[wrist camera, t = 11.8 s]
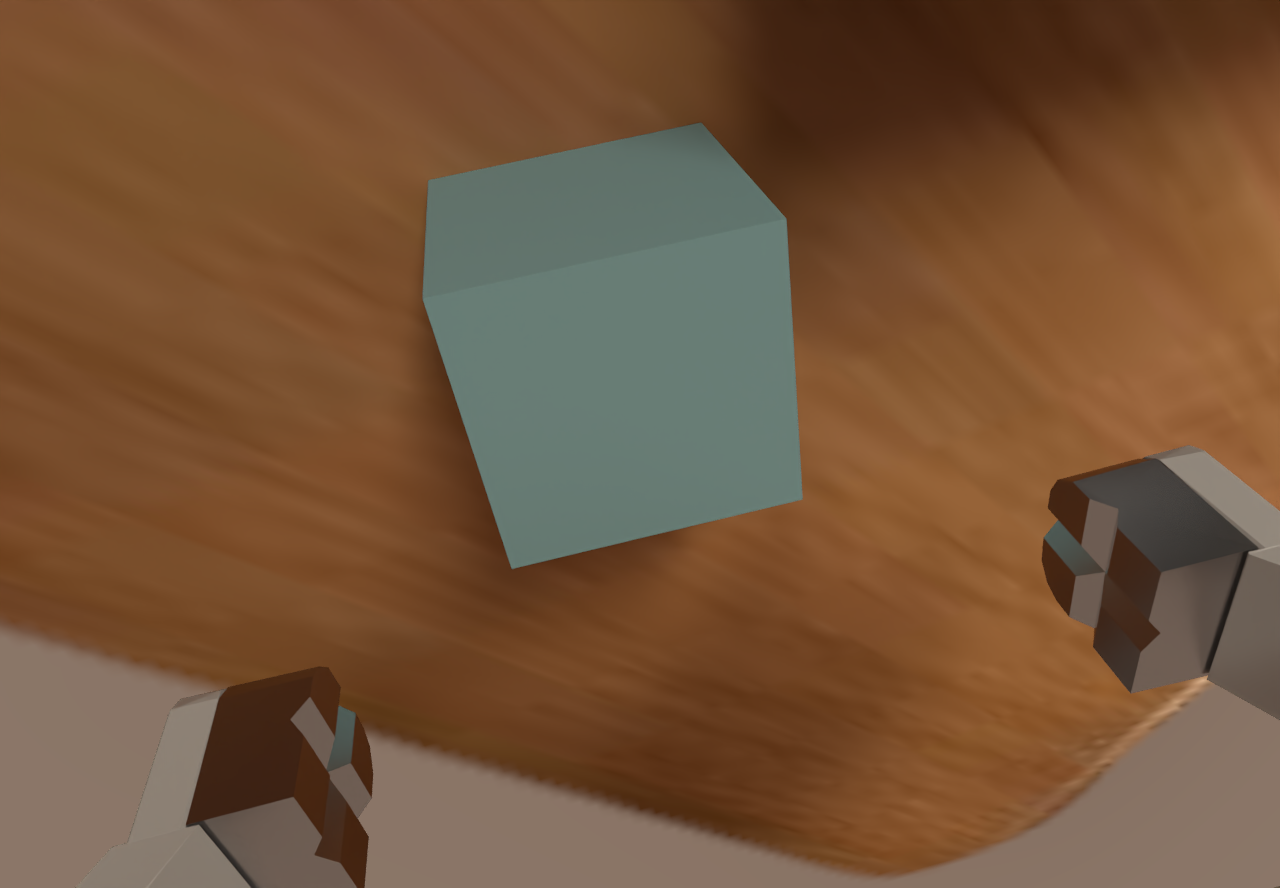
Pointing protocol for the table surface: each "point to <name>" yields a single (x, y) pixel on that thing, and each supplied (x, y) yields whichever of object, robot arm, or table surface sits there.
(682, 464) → the teal cube
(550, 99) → the table surface
